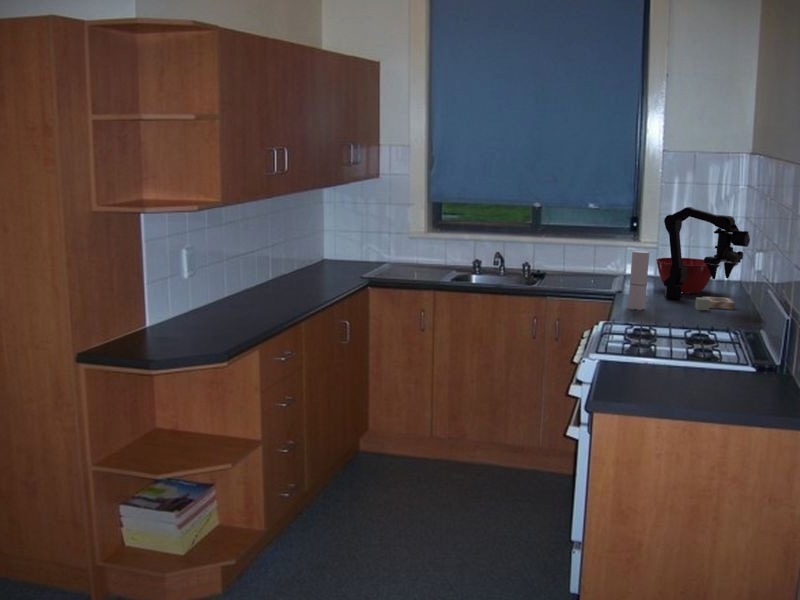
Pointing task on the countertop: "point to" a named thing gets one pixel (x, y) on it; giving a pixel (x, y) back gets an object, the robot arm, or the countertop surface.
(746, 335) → the countertop surface
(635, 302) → the white rectangular tower
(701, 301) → the gray cube
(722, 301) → the birch base
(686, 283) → the mixing bowl
